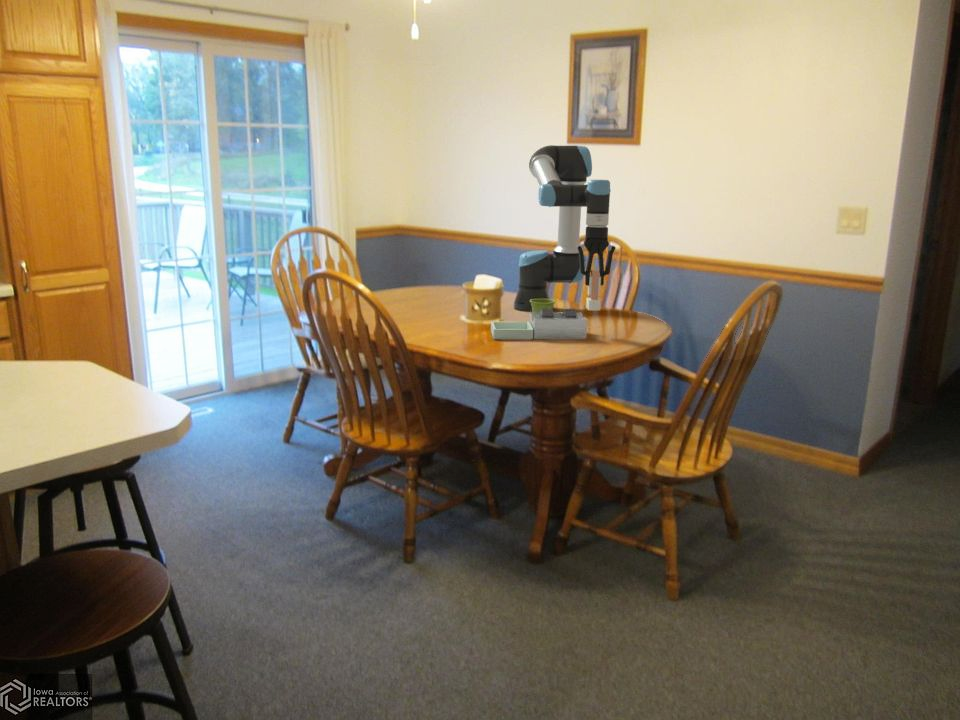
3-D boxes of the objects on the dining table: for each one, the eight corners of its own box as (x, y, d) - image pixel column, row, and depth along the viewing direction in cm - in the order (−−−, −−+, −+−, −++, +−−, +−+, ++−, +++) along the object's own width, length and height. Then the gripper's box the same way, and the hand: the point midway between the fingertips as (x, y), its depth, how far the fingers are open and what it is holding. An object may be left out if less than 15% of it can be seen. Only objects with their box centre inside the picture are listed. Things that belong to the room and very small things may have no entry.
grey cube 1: (563, 320, 281) (563, 309, 280) (574, 320, 281) (574, 309, 280) (564, 322, 277) (565, 311, 276) (576, 322, 277) (576, 311, 276)
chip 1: (540, 320, 281) (540, 308, 280) (551, 320, 281) (552, 308, 280) (541, 322, 277) (542, 311, 276) (553, 322, 277) (553, 311, 276)
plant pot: (537, 319, 306) (538, 297, 304) (558, 323, 301) (559, 300, 298) (524, 323, 298) (525, 300, 296) (546, 327, 293) (547, 303, 291)
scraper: (586, 307, 281) (587, 269, 277) (597, 307, 281) (599, 269, 278) (588, 310, 276) (590, 271, 272) (600, 310, 276) (602, 271, 273)
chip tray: (490, 331, 285) (491, 321, 284) (528, 331, 286) (528, 321, 285) (493, 339, 273) (493, 329, 272) (532, 339, 273) (533, 329, 273)
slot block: (530, 331, 286) (530, 312, 284) (580, 331, 287) (581, 312, 285) (534, 339, 274) (534, 319, 272) (586, 339, 275) (587, 319, 273)
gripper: (576, 226, 267) (573, 296, 273) (622, 227, 268) (618, 296, 274) (572, 225, 275) (569, 293, 280) (617, 225, 276) (613, 293, 281)
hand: (593, 294), depth 277 cm, fingers closed on scraper, 2 cm apart
